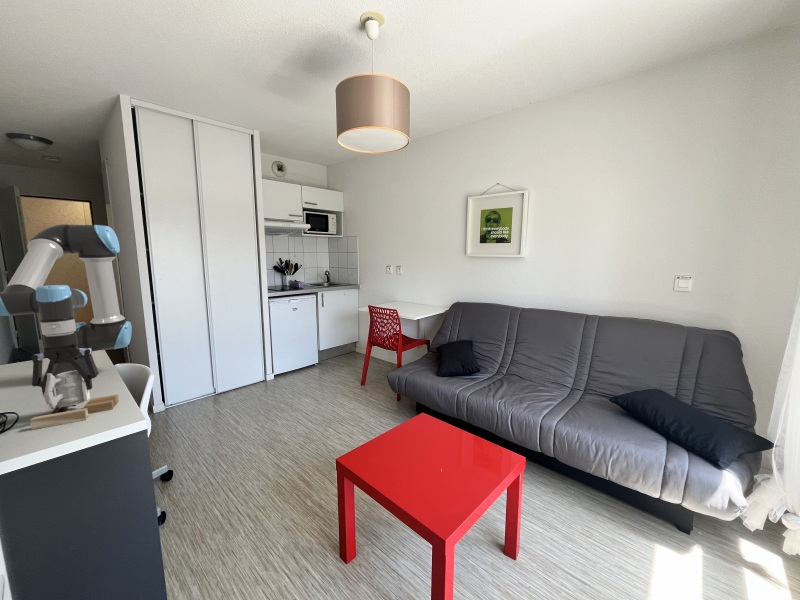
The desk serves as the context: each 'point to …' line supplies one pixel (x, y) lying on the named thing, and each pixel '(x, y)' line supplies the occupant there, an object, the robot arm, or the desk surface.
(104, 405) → the slab
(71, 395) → the mug
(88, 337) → the robot arm
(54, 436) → the desk surface
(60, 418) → the rail
